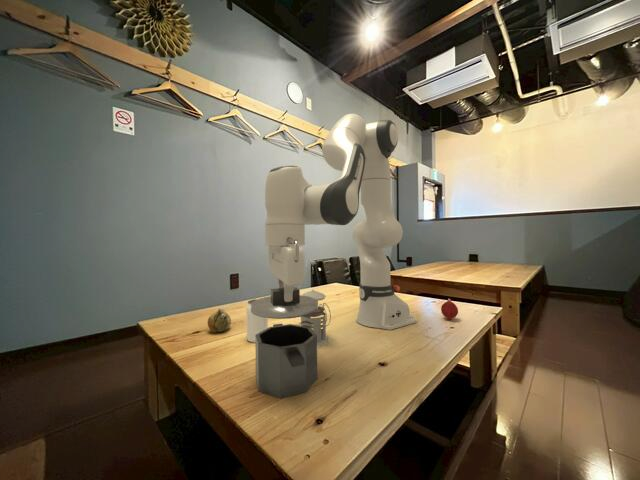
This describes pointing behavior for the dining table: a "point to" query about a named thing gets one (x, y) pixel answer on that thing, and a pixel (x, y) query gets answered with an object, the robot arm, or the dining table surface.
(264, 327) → the can
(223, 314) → the onion
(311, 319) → the french press
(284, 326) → the pot
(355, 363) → the dining table surface
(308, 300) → the lid
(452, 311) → the onion
